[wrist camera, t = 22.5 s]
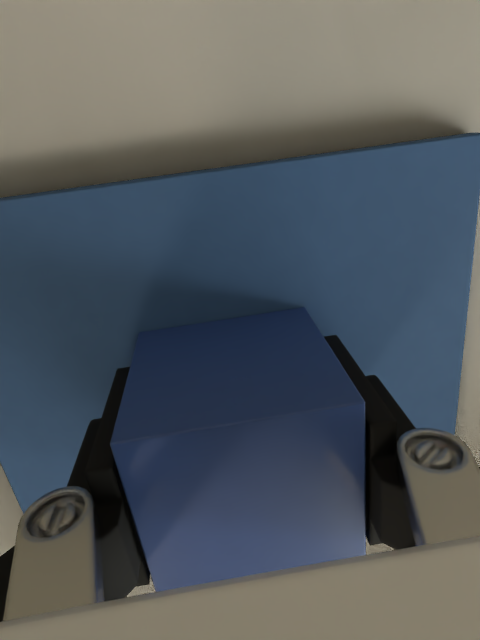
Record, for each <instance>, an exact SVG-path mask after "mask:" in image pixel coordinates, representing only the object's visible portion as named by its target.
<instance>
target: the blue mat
mask: <svg viewBox="0 0 480 640" xmlns="http://www.w3.org/2000/svg"><path fill="white" fill-rule="evenodd" d="M479 195H480V133H466V134H458V135H451V136H444V137H437V138H429V139H422V140H415V141H408V142H401V143H393V144H386V145H379V146H372V147H364V148H357V149H350V150H343V151H335V152H328V153H321V154H314V155H307V156H299V157H292V158H285V159H278V160H270V161H263V162H256V163H249V164H242V165H234V166H227V167H220V168H213V169H205V170H198V171H191V172H184V173H176V174H169V175H162V176H155V177H148V178H140V179H133V180H126V181H119V182H111V183H104V184H97V185H90V186H82V187H75V188H68V189H61V190H54V191H46V192H39V193H32V194H25V195H17V196H10V197H3V198H0V463H1V465H2V467H3V470H4V472H5V474H6V476H7V478H8V481H9V483H10V485H11V487H12V489H13V492H14V494H15V496H16V498H17V500H18V503H19V505H20V507H21V509H22V511H23V514H24V513H25V511H26V510H27V508H28V507H29V506H30V505H32V504H33V503H34V502H35V501H36V500H37V499H39V498H40V497H42V496H43V495H45V494H46V493H48V492H51V491H53V490H55V489H58V488H62V487H67V484H68V482H69V479H70V476H71V473H72V470H73V467H74V465H75V462H76V459H77V456H78V453H79V450H80V448H81V445H82V442H83V439H84V436H85V434H86V431H87V428H88V425H89V423H90V421H91V420H93V419H99V418H102V415H103V411H104V408H105V405H106V402H107V399H108V396H109V393H110V389H111V386H112V383H113V380H114V377H115V374H116V371H117V369H118V368H125V367H130V366H131V362H132V358H133V354H134V350H135V346H136V343H137V339H138V335H139V333H140V332H145V331H152V330H158V329H165V328H171V327H178V326H184V325H191V324H197V323H204V322H210V321H217V320H224V319H230V318H237V317H243V316H250V315H256V314H263V313H269V312H276V311H282V310H289V309H295V308H302V307H305V308H306V310H307V312H308V313H309V315H310V316H311V318H312V319H313V321H314V323H315V324H316V326H317V327H318V329H319V330H320V332H321V334H322V335H323V337H324V336H331V335H337V336H338V337H339V339H340V340H341V342H342V343H343V344H344V346H345V347H346V349H347V350H348V352H349V353H350V354H351V356H352V357H353V359H354V360H355V362H356V363H357V365H358V366H359V367H360V369H361V370H362V372H363V373H364V375H365V376H368V375H376V376H377V377H378V378H379V379H380V381H381V382H382V383H383V385H384V386H385V387H386V389H387V390H388V391H389V393H390V394H391V395H392V397H393V398H394V400H395V401H396V402H397V404H398V405H399V406H400V408H401V409H402V410H403V412H404V413H405V414H406V416H407V417H408V418H409V420H410V421H411V422H412V424H413V425H414V426H415V428H416V429H417V428H434V429H439V430H443V431H447V432H449V433H451V434H453V435H455V426H456V417H457V407H458V398H459V388H460V378H461V369H462V359H463V349H464V340H465V330H466V320H467V311H468V301H469V291H470V282H471V272H472V263H473V253H474V243H475V234H476V224H477V214H478V205H479Z"/></svg>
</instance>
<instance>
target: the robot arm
mask: <svg viewBox="0 0 480 640" xmlns="http://www.w3.org/2000/svg"><path fill="white" fill-rule="evenodd" d="M324 338H325V340H326V341H327V343H328V345H329V346H330V348H331V349H332V351H333V352H334V354H335V356H336V357H337V359H338V360H339V362H340V363H341V365H342V367H343V368H344V370H345V371H346V373H347V374H348V376H349V378H350V379H351V381H352V382H353V384H354V385H355V387H356V389H357V390H358V392H359V393H360V395H361V396H362V398H363V400H364V401H365V504H366V537H367V539H368V542H369V544H370V545H375V544H380V543H384V544H386V545H388V546H390V547H392V548H393V550H392V551H386V552H381V553H375V554H369V555H363V556H357V557H351V558H346V559H340V560H334V561H328V562H322V563H317V564H311V565H305V566H300V567H294V568H288V569H283V570H277V571H271V572H266V573H260V574H254V575H249V576H243V577H238V578H232V579H226V580H221V581H215V582H209V583H204V584H198V585H193V586H187V587H182V588H176V589H171V590H165V591H160V592H154V593H149V594H143V595H138V596H132V597H127V595H128V594H129V593H130V592H131V591H132V590H133V589H134V588H135V587H136V586H142V585H147V584H149V580H150V571H149V568H148V565H147V562H146V559H145V555H144V552H143V549H142V546H141V542H140V539H139V536H138V533H137V530H136V526H135V523H134V520H133V517H132V514H131V510H130V507H129V504H128V501H127V497H126V494H125V491H124V488H123V485H122V481H121V478H120V475H119V472H118V469H117V465H116V462H115V459H114V456H113V453H112V449H111V446H110V442H111V438H112V434H113V430H114V427H115V423H116V419H117V415H118V411H119V407H120V404H121V400H122V396H123V392H124V388H125V385H126V381H127V377H128V373H129V369H130V367H125V368H118V369H117V371H116V374H115V377H114V380H113V383H112V386H111V389H110V393H109V396H108V399H107V402H106V405H105V408H104V411H103V415H102V418H99V419H93V420H91V421H90V423H89V425H88V428H87V431H86V434H85V436H84V439H83V442H82V445H81V448H80V450H79V453H78V456H77V459H76V462H75V465H74V467H73V470H72V473H71V476H70V479H69V482H68V484H67V487H62V488H58V489H55V490H53V491H51V492H48V493H46V494H45V495H43V496H42V497H40V498H39V499H37V500H36V501H35V502H34V503H33V504H32V505H30V506H29V507H28V508H27V510H26V511H25V513H24V514H23V515H22V517H21V519H20V522H19V525H18V530H17V536H16V542H15V546H14V547H12V548H11V549H10V550H8V551H7V552H6V553H4V554H3V555H2V556H0V640H480V467H479V466H478V464H477V462H476V460H475V458H474V456H473V454H472V452H471V450H470V449H469V447H468V446H467V445H466V443H465V442H463V441H462V440H461V439H460V438H458V437H457V436H455V435H453V434H451V433H449V432H447V431H443V430H439V429H434V428H417V429H416V428H415V426H414V425H413V424H412V422H411V421H410V420H409V418H408V417H407V416H406V414H405V413H404V412H403V410H402V409H401V408H400V406H399V405H398V404H397V402H396V401H395V400H394V398H393V397H392V395H391V394H390V393H389V391H388V390H387V389H386V387H385V386H384V385H383V383H382V382H381V381H380V379H379V378H378V377H377V376H376V375H368V376H365V375H364V373H363V372H362V370H361V369H360V367H359V366H358V365H357V363H356V362H355V360H354V359H353V357H352V356H351V354H350V353H349V352H348V350H347V349H346V347H345V346H344V344H343V343H342V342H341V340H340V339H339V337H338V336H337V335H331V336H324Z"/></svg>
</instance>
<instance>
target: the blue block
mask: <svg viewBox="0 0 480 640" xmlns="http://www.w3.org/2000/svg"><path fill="white" fill-rule="evenodd" d="M110 446H111V449H112V453H113V456H114V459H115V462H116V465H117V469H118V472H119V475H120V478H121V481H122V485H123V488H124V491H125V494H126V497H127V501H128V504H129V507H130V510H131V514H132V517H133V520H134V523H135V526H136V530H137V533H138V536H139V539H140V542H141V546H142V549H143V552H144V555H145V559H146V562H147V565H148V568H149V571H150V575H151V578H152V581H153V584H154V587H155V591H156V592H160V591H165V590H171V589H176V588H182V587H187V586H193V585H198V584H204V583H209V582H215V581H221V580H226V579H232V578H238V577H243V576H249V575H254V574H260V573H266V572H271V571H277V570H283V569H288V568H294V567H300V566H305V565H311V564H317V563H322V562H328V561H334V560H340V559H346V558H351V557H357V556H363V555H366V504H365V401H364V400H363V398H362V396H361V395H360V393H359V392H358V390H357V389H356V387H355V385H354V384H353V382H352V381H351V379H350V378H349V376H348V374H347V373H346V371H345V370H344V368H343V367H342V365H341V363H340V362H339V360H338V359H337V357H336V356H335V354H334V352H333V351H332V349H331V348H330V346H329V345H328V343H327V341H326V340H325V338H324V337H323V335H322V334H321V332H320V330H319V329H318V327H317V326H316V324H315V323H314V321H313V319H312V318H311V316H310V315H309V313H308V312H307V310H306V308H305V307H302V308H295V309H289V310H282V311H276V312H269V313H263V314H256V315H250V316H243V317H237V318H230V319H224V320H217V321H210V322H204V323H197V324H191V325H184V326H178V327H171V328H165V329H158V330H152V331H145V332H140V333H139V335H138V339H137V343H136V346H135V350H134V354H133V358H132V362H131V366H130V369H129V373H128V377H127V381H126V385H125V388H124V392H123V396H122V400H121V404H120V407H119V411H118V415H117V419H116V423H115V427H114V430H113V434H112V438H111V442H110Z"/></svg>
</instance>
